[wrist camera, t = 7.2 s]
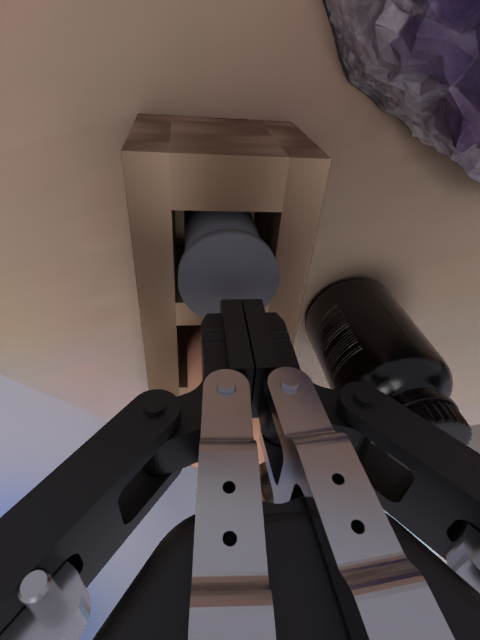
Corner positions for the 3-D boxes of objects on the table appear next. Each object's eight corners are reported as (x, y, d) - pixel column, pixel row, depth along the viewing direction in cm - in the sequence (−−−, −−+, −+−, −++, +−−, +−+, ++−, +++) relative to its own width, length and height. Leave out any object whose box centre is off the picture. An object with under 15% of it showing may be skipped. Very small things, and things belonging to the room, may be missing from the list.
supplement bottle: (323, 358, 32) (382, 497, 23) (289, 304, 28) (343, 446, 19) (401, 320, 30) (499, 454, 21) (376, 258, 26) (484, 388, 17)
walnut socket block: (291, 121, 20) (331, 159, 15) (255, 387, 33) (269, 459, 28) (138, 114, 19) (121, 150, 14) (162, 392, 32) (158, 468, 27)
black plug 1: (257, 177, 20) (286, 235, 15) (250, 248, 23) (273, 321, 17) (177, 174, 20) (176, 235, 14) (179, 248, 22) (179, 323, 17)
